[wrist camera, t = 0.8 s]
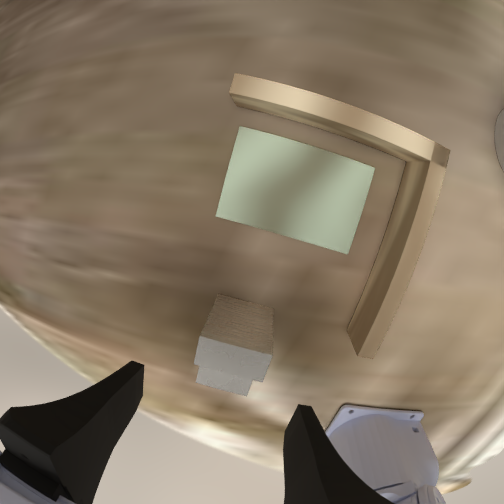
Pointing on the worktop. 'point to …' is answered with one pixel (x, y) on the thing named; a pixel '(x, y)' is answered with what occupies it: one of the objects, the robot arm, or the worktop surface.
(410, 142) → the wooden corner frame
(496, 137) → the coffee cup
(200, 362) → the block
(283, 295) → the worktop surface
